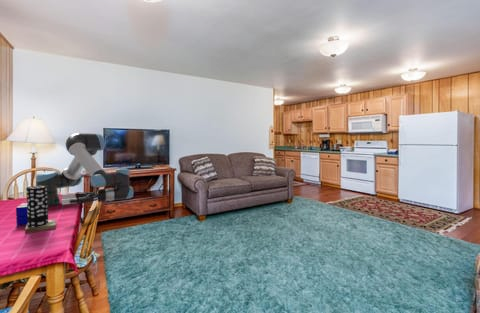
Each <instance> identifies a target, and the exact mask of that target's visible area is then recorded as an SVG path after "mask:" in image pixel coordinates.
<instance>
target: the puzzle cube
mask: <svg viewBox="0 0 480 313" xmlns="http://www.w3.org/2000/svg"><path fill="white" fill-rule="evenodd" d="M15 213H16V214H15V215H16V218H15V220H16V226H27V223H28V220H27V202H24V203H23V202H22V203H21V204H19V206H17V207H16V208H15Z"/></svg>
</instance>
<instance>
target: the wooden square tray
mask: <svg viewBox="0 0 480 313" xmlns="http://www.w3.org/2000/svg"><path fill="white" fill-rule="evenodd" d="M56 220H57V218H50V219H49V218H48V224H46V225H44V226H40V227H28V223H27V225H25V228H24V234H30V233H35V232H36V233H38V232H42V231H49V230H54V229H55V230H56V224H57V223H56V222H57V221H56Z"/></svg>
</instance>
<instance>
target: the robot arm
mask: <svg viewBox="0 0 480 313" xmlns="http://www.w3.org/2000/svg"><path fill="white" fill-rule="evenodd" d="M105 147H106V142H105V138H104V136H103V135H101V134H99V133H85V132H84V133H80V132H79V133H78V132H76V133H73V134H70V135H69V136H68V138H66V141H65V148H66V150H67V152H68V153H69V154H70V155H71V156H74V157H73V159H72V160H71V162H70V164H69V165H68V166H67V167H65V168H64V169H63V170H62V171H61V172H58V171H57V170H48V171H42V172H39V173H37V174H36V175H35V184H36V185H35V186H47V193H48V208H50V207H54V206H58V205H62V206H64V205H71V204H72V205H73V204H78V205H81V204H85V203H90V202H99V203H100V202H101V203H102V202H112V201H116V200H117V201H118V200H127V199H131V198H133V197H134V188H133V186H131V185H130V170H129V168H126V167H125V168H116V169H115V172H110V173H107V172H106V171H105V170H104V169H103V167H102V166H101V165H100V164H99V163H98V161H97V160H96V159H95V158H94V157H93V156H95V155H96V154H97V153H98V152H99V151H103V150H104V149H105ZM83 169H84V170H85V171H86V172H87V174H88V175H89V176H90V182H89V183H90V185H91V187H92V188H96V189H97V188H98V190H97V192H96V191H91V192H90V191H83V192H82V191H77V192H75V193H63V194H61V198H60V195H59V193H58V189H64V188H72V187H76V186H79V185H81V183H82V182H83V181H82V179H83V174H82V171H83ZM109 186H115V187H110V188H109ZM104 187H105V188H104ZM106 187H108V188H106ZM99 188H100V189H99Z"/></svg>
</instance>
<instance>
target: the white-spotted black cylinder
mask: <svg viewBox="0 0 480 313" xmlns="http://www.w3.org/2000/svg"><path fill="white" fill-rule="evenodd" d="M25 189H26V203H27V220H28V227H40V226H44V225H46V224H48V220H49V207H48V193H47V186H36V185H32V186H27V187H26V188H25Z"/></svg>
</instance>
